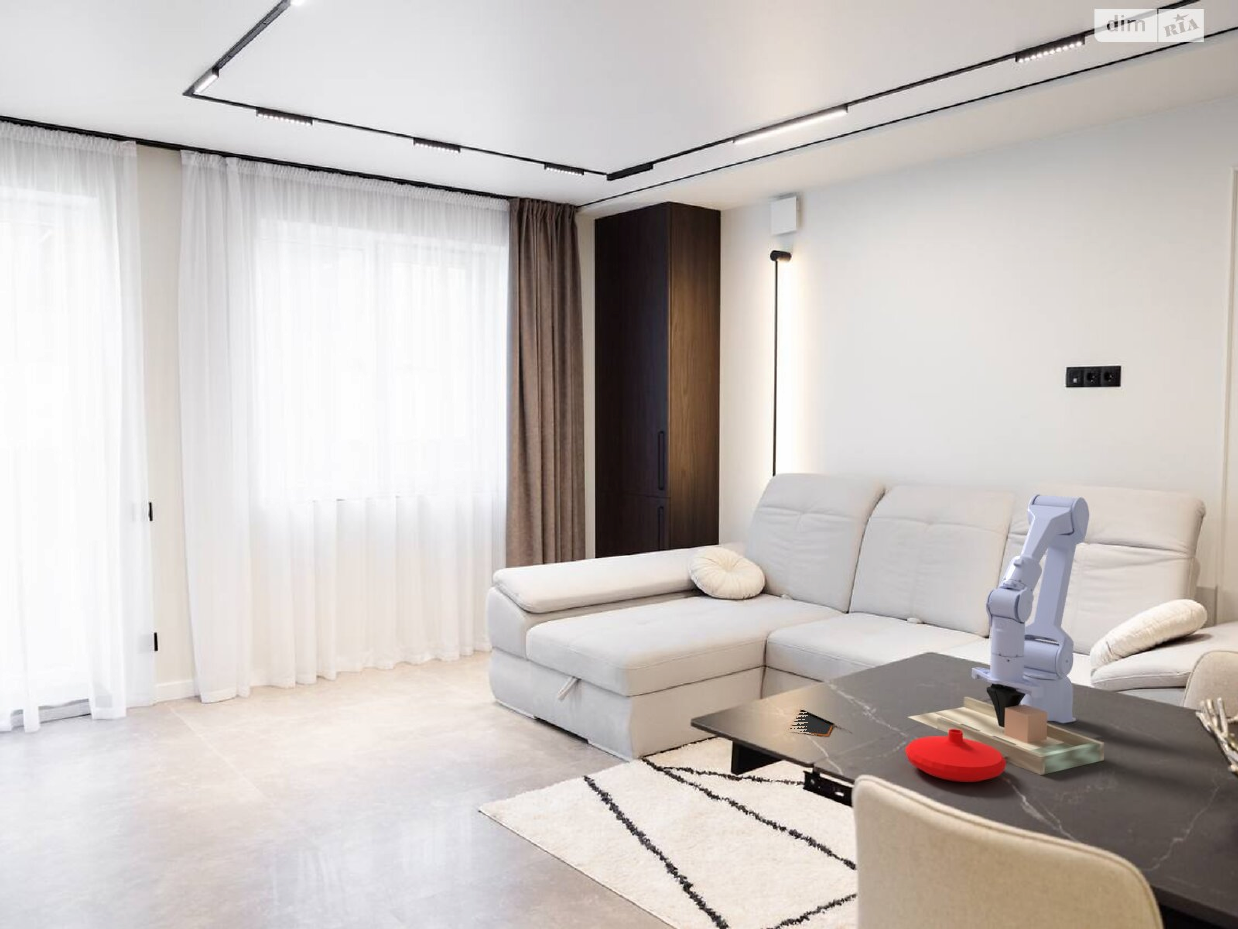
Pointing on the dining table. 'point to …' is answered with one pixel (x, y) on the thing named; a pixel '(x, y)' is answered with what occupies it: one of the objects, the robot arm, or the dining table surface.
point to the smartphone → (814, 724)
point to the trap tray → (1035, 756)
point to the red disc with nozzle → (955, 757)
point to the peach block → (1025, 723)
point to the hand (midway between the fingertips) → (1004, 726)
